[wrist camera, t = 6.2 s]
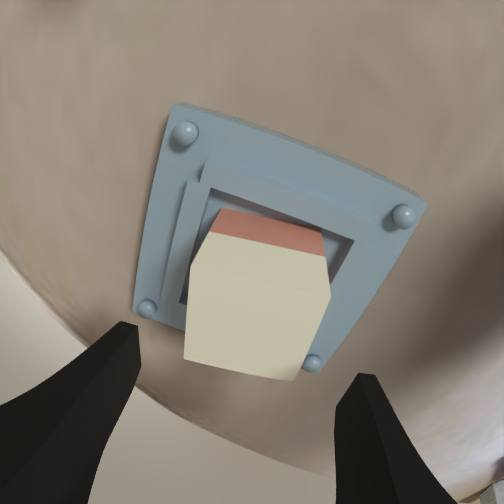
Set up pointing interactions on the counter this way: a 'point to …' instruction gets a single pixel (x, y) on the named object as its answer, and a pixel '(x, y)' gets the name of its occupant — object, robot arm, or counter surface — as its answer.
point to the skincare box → (493, 494)
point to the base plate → (268, 215)
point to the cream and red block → (256, 295)
